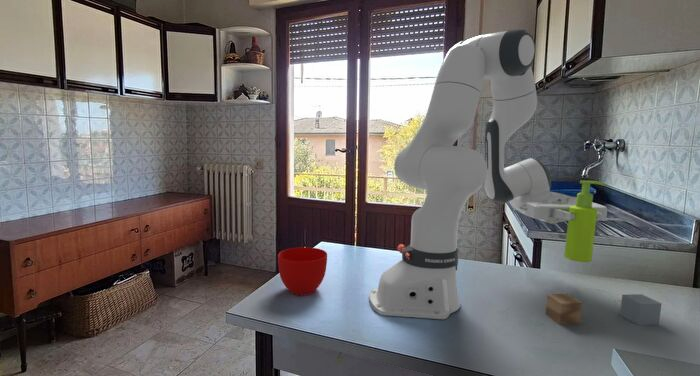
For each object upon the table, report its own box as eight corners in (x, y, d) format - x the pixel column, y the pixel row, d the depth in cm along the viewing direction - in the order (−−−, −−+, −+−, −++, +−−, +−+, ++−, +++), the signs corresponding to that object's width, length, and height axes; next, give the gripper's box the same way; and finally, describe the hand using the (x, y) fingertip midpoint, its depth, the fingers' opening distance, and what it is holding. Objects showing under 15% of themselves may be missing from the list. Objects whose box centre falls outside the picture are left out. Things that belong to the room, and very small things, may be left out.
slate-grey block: (638, 325, 82) (640, 303, 81) (620, 314, 86) (622, 294, 86) (658, 324, 82) (661, 303, 81) (639, 314, 87) (641, 294, 86)
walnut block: (559, 324, 81) (561, 303, 80) (545, 314, 86) (547, 294, 85) (580, 324, 81) (582, 302, 81) (565, 313, 86) (567, 293, 86)
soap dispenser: (596, 264, 88) (607, 182, 86) (563, 259, 92) (572, 180, 89) (595, 258, 93) (605, 181, 91) (564, 253, 97) (573, 178, 94)
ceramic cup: (337, 279, 105) (338, 245, 104) (316, 303, 89) (316, 264, 88) (296, 274, 109) (296, 241, 108) (268, 296, 93) (268, 258, 91)
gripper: (517, 195, 103) (547, 203, 89) (585, 197, 104) (625, 205, 91) (515, 217, 103) (544, 228, 90) (582, 218, 105) (622, 230, 91)
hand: (586, 216), depth 90 cm, fingers closed on soap dispenser, 6 cm apart
